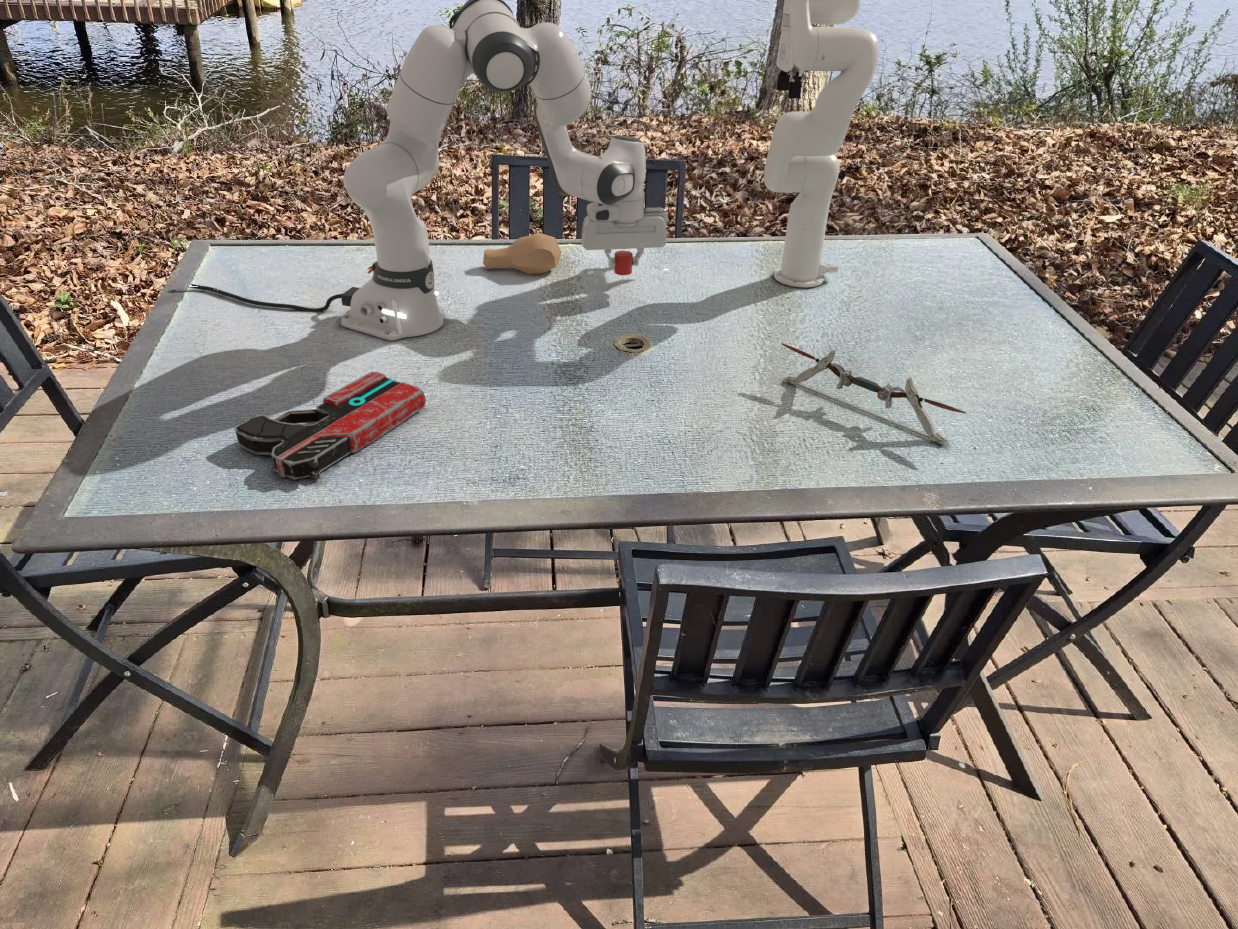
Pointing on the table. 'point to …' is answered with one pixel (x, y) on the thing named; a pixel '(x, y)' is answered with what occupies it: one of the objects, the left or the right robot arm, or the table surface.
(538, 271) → the squash
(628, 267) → the canister
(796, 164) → the right robot arm
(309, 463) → the gun
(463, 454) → the table surface
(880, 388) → the bow
